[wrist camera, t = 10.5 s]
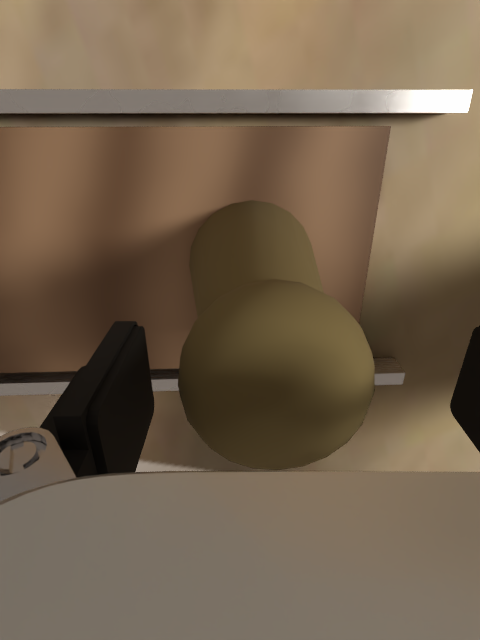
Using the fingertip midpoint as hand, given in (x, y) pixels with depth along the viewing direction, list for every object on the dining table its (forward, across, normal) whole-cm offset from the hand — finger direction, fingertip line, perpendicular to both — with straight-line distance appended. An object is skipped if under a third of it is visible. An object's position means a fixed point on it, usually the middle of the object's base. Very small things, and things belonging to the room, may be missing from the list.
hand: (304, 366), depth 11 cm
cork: (+9, +1, 0) cm, 9 cm away
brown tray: (+10, +8, 0) cm, 12 cm away
